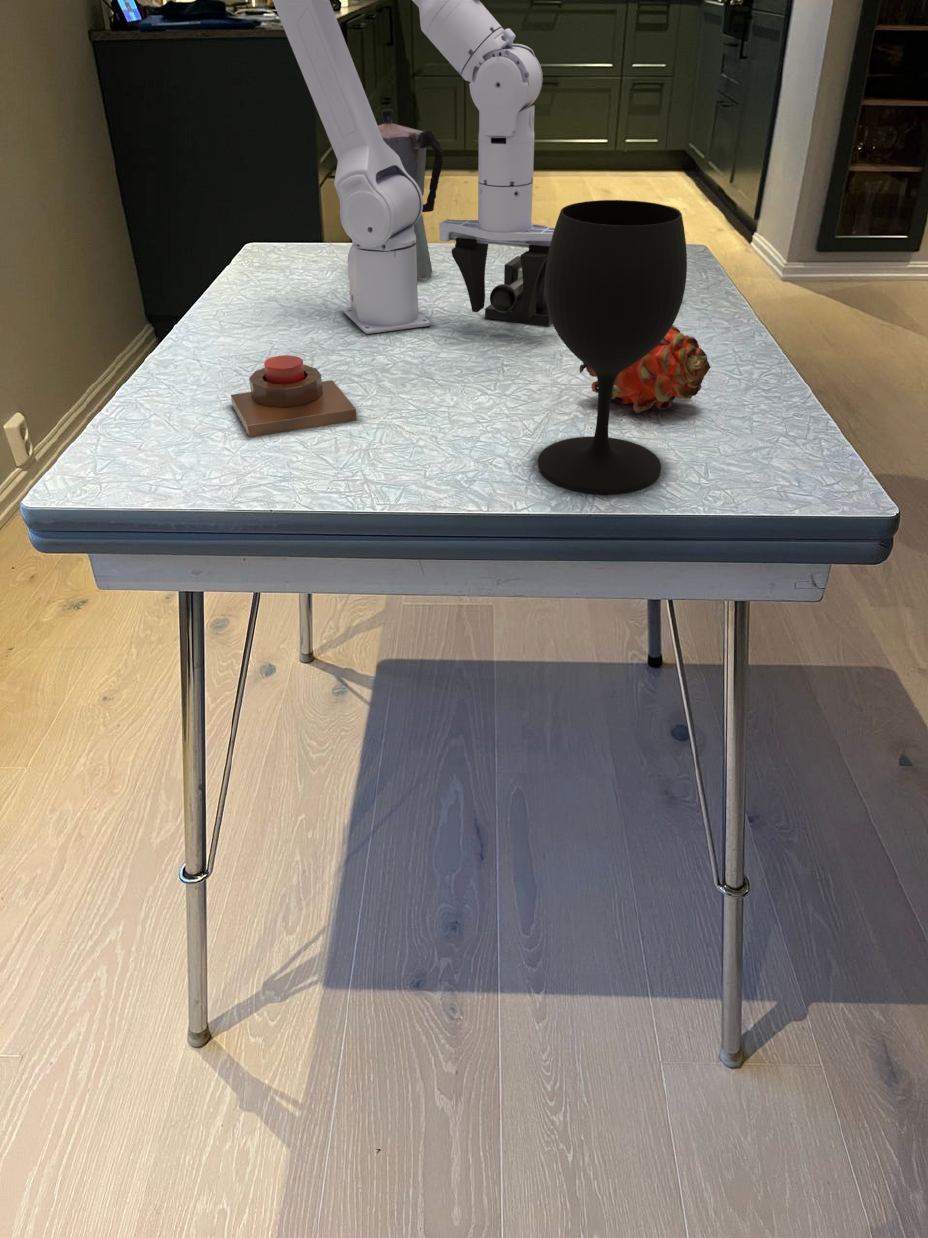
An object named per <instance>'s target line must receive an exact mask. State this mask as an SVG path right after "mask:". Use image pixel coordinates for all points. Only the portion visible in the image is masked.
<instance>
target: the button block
mask: <svg viewBox="0 0 928 1238" xmlns="http://www.w3.org/2000/svg"><path fill="white" fill-rule="evenodd" d="M303 366H304V375H305V379H304V380H302V381H300V382H297V383H291V384H272V383H269V382H267V381H266V375H265V368H264V367H263V368H260V369H258V370H255V371H253V373H252V374H251V375H250V376H249V378H248V381H249V388H250V391H247V392H241V393H233V394H230V399H231V400H230V401H231V406H232V408H233V410H234V412H235V415H236V416H237V417H238V419H239V421H240V423H241V425H242V427H243V429H244V430H245V432H246V434H247V436H248V438H249V439H251V438H257V437H262V436H269V435H275V434H281V433H287V432H294V431H299V430H305V429H313V428H318V427H319V428H320V427H324V426H331V425H337V424H343V423H350V422H355V421H358V419H357V417H358V416H357V408H356V407H355V405H353V403H352V402H351V401H350V399H349V398H348V397H347V396H346V395H345V394H344V392H343V391H342V390H341V389H340V387H339V386H338V385H337V384H336V383H335V381H334V380H333V379H330V380H329V379H328V380H322V379H323V378H322V374H321V372H320V371H319V370H318V369H317V368H316V367H313V366H310V365H307V364H303Z"/></svg>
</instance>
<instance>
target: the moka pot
mask: <svg viewBox="0 0 928 1238" xmlns="http://www.w3.org/2000/svg"><path fill="white" fill-rule="evenodd" d="M380 113H381V117H382V122H383V123H382V124H379V125H378V128H379V131H380V133H381V136H382V138H383V141H384V142H385V143H386V144H387V145H388V146H389V147H390V148H391V149H392V150H393V151H394V152H395V153H396V154H397V155H398V156H399V157H400V160H401V162H402V165H403V167H404V169H405V171H406V172H407V173H408V175H409V176H410V177H411V178H412V179H414V180H415V182H416V183H417V184H418V186H419V188H420V190H421V193H422V197H423V196H424V194H425V177H426V161H427V148H428V147H430V148H431V149H432V150H433V151H434V159H433V162H432V171H431V177H430V179H429V187H428V188H429V192H428V195H427V198H426V203H423V210H422V213H430V212H434V209H435V203H436V201H435V200H436V198H437V190H438V187H439V186H438V185H439V182H440V181H439V180H440V177H441V173H442V169H443V168H442V166H443V164H444V163H443V162H444V161H443V158H444V150H443V149H442V146H441V144H440V142H439V141H438V140H437V139H436V138H435V134H433V129H427V130H424V131H423V130H420V129H415V128H411V127H409V126H404V125H400V124H397V123H394V122H393V120H394V110H393V109H391V108H384V109H382V110H381V111H380ZM425 227H426V226H425V222H424V217H423V215H422V214H421V216H420V218H419V220H418V221H417V223H416V224H415V225H414V233H415V236H416V258H417V280H421V279H426V278H427V277H429V276H430V275H431V274H432V272H433V267H432V266H433V265H432V261H431V256H430V251H429V244H428V239H427V234H426V228H425Z"/></svg>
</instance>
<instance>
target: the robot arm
mask: <svg viewBox="0 0 928 1238" xmlns="http://www.w3.org/2000/svg"><path fill="white" fill-rule="evenodd" d="M271 1H272V4H273V5H274V7H275V10H276V13H277V15H278V18H279V21H280V22H281V23H280V24H281V25H282V27H283V30H284V32H285V35H286V38H287V40H288V42H289V45H290V47H291V50H292V53H293V54H294V57H295V59H296V62H297V65H298V67H299V69H300V71H301V75H302V76H303V79H304V81H305V84H306V86H307V88H308V91H309V94H310V96H311V99H312V101H313V103H314V106H315V108H316V111H317V113H318V115H319V119H320V121H321V123H322V125H323V127H324V131H325V132H326V135H327V138H328V141H329V142H330V145H331V147H332V151H333V152H334V155H335V157H336V160H337V165H336V170H335V175H334V180H333V185H334V188H335V190H336V194H337V196H338V200H339V218H340V222H341V226H342V228H343V230H344V232H345V234H346V235H347V236H348V237H349V238H350V239H351V243H352V244H351V246H350V248H349V251H348V253H347V271H348V286H349V300H350V302H349V303H350V306H346V307H343V308H342V311H343V313H344V314H345V315H346V316H347V317H348V318H349V319H350V320H351V321H352V322H353V323H354V324H355V325H356V326H357V327H358V328H359V329H360V330H361V331H362V332H363V333H364V334H368V335H369V334H377V333H378V334H379V333H385V332H394V331H400V330H407V329H408V330H409V329H417V328H423V327H430V326H431V321H430V320H429V319H428V318H426V316H424V315H423V314H422V313H421V312H420V311H419V291H418V279H417V258H416V236H415V233H414V225H415V224H416V223H417V221H418V220H419V218H420V216H421V215H422V213H423V212H422V210H423V204H424V198H423V196H422V193H421V190H420V188H419V186H418V184H417V183H416V182H415V180H414V179H412V178H411V177H410V176H409V175H408V173H407V172H406V171H405V169H404V167H403V165H402V162H401V160H400V157H399V156H398V155H397V154H396V153H395V152H394V151H393V150H392V149H391V148H390V147H389V146H388V145H387V144H386V143H385V142H384V141H383V138H382V136H381V133H380V131H379V128H378V126H379V125H378V123H377V121H376V118H375V115H374V113H373V110H372V108H371V105H370V102H369V99H368V97H367V94H366V91H365V89H364V87H363V83H362V81H361V79H360V76H359V74H358V70H357V69H356V66H355V63H354V61H353V57H352V55H351V53H350V50H349V48H348V45H347V43H346V40H345V37H344V34H343V32H342V29H341V26H340V24H339V22H338V19H337V17H336V14H335V11H334V9H333V6H332V4H331V1H330V0H271ZM411 1H412V2H413V3H414V4H415V5H416V7H418V12H419V22H420V23H419V25H420V30H421V32H422V33H423V34H424V35H425V36H426V37H427V39H428V40H429V41H430V42H431V43H432V45H433V46H434V47H435V48H436V49H437V50H438V51H439V52H440V53H441V55H442V56H443V57H444V58H445V59H446V60H447V62H448V63H449V64H450V65H451V66H452V67H453V68H454V69H455V70H456V72H457V73H458V74H459V75H460V76H461V78H462V79H463V80H464V81H467V82H469V93H470V97H471V99H472V102H473V104H474V106H475V107H476V108H477V110H478V119H479V120H478V124H479V125H478V159H477V160H478V161H477V162H478V171H477V172H478V173H477V174H478V175H477V176H478V180H477V182H478V183H477V199H478V200H477V219H453V218H452V219H451V218H445V219H444V220H442V221H440V222H439V223H438V225H439V227H438V228H439V241H440V242H450V241H453V242H455V244H454V247H452V248H451V256H452V259H453V260H454V261H455V263H456V265H457V267H458V269H459V272H460V275H461V276H462V278H463V281H464V284H465V288H466V290H467V293H468V298H469V302H470V306H471V312H472V313H479V312H481V310H484V309H485V303H486V265H487V258H488V257H487V255H488V250H489V245H495V246H505V247H514V248H515V247H517V248H527V249H528V250H526V251H524V252H523V253H522V254H520V256H521V265H522V274H523V302H522V317H523V318H530V317H531V316H532V315H533V314H534V312H535V306H536V302H537V298H538V294H539V291H540V288H541V285H542V282H543V280H544V277H545V272H546V263H547V257H548V252H549V247H550V243H551V240H552V236H553V232H554V229H555V227H553V226H547V225H542V224H536V223H532V217H533V216H532V215H533V193H534V192H533V187H534V163H535V161H534V159H535V137H536V135H535V110H536V109H535V107H536V105H534V104H533V103H534V102H535V101H536V100H537V98H539V95H540V93H541V90H542V87H543V81H544V78H543V77H544V76H543V70H542V66H541V64H540V62H539V60H538V58H537V56H536V55H535V51H534V50H533V49H532V48H530V47H529V46H527V45H525V44H521V43H514V41H515V39H516V34H515V33H514V32H513V30H512V29H511V28H505V29H504V28H503V26H502V25H501V24H500V23H499V21H497V19H496V18H495V17H494V15H492V14H491V12H490V11H489V10H488V9H487V8H486V7H485V5H484V4H483V3H482V2H481V1H480V0H411Z"/></svg>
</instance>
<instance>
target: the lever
mask: <svg viewBox="0 0 928 1238" xmlns="http://www.w3.org/2000/svg"><path fill="white" fill-rule="evenodd" d="M521 292H523V274H522V267H521V268H520V269H518V280H516V281H515V282H514V283H512V284H511V285H510V286H509V285H507V284H504V283H500V284H498V285H496V286H494V288H493V289H492V291H491V292H490V295H489V303H490V305H492V307H493V308H494V309H495V310H496V311H498V312H508V311H510V310H511V309H512V308H513V307H514V306H515V304H516V300H517V296H518V295H519V294H520V293H521Z"/></svg>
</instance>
